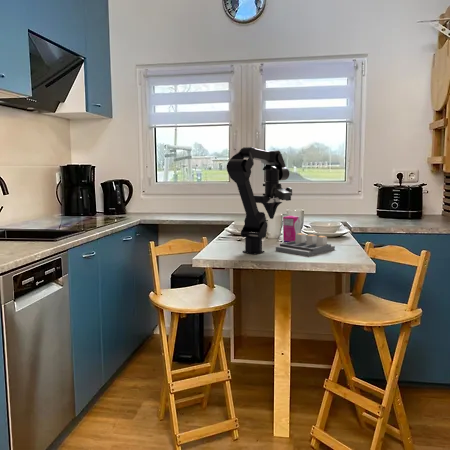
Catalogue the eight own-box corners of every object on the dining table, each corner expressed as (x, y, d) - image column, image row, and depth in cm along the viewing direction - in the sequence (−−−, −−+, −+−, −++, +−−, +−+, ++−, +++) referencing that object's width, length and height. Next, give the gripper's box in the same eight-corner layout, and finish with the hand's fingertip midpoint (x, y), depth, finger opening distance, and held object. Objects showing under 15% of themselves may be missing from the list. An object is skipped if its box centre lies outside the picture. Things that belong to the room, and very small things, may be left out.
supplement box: (289, 240, 209) (289, 215, 207) (300, 241, 205) (301, 216, 204) (282, 241, 204) (282, 216, 203) (294, 243, 201) (294, 217, 199)
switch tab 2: (312, 246, 186) (312, 235, 185) (306, 245, 188) (306, 235, 187) (316, 245, 188) (316, 234, 187) (310, 244, 190) (310, 234, 189)
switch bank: (308, 256, 173) (308, 249, 173) (275, 250, 185) (275, 244, 184) (334, 249, 186) (334, 243, 185) (302, 244, 197) (302, 239, 197)
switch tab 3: (322, 247, 182) (322, 237, 182) (316, 246, 184) (316, 236, 184) (326, 246, 184) (327, 236, 184) (320, 245, 186) (320, 235, 186)
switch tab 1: (301, 244, 189) (301, 234, 188) (295, 243, 191) (295, 233, 190) (305, 243, 191) (305, 233, 190) (299, 242, 193) (299, 233, 192)
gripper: (271, 182, 177) (271, 222, 179) (301, 181, 189) (300, 218, 192) (250, 181, 185) (250, 220, 187) (280, 180, 197) (280, 216, 200)
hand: (271, 218), depth 191 cm, fingers closed
